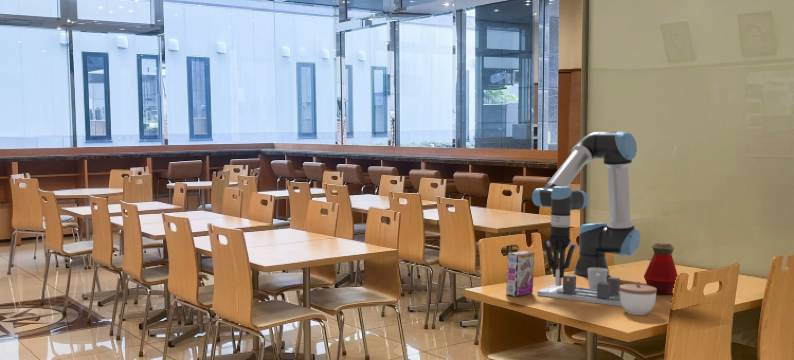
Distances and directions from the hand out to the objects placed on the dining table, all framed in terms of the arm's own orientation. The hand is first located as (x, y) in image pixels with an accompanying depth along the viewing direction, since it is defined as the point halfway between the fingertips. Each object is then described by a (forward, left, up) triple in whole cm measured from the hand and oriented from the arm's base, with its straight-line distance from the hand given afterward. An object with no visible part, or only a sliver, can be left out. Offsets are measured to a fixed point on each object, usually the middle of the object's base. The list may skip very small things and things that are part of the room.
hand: (558, 285), depth 307 cm
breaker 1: (0, +4, -1) cm, 5 cm away
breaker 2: (+6, +20, -1) cm, 21 cm away
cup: (-18, +10, -3) cm, 21 cm away
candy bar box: (+12, -11, -3) cm, 17 cm away
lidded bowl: (+16, +35, -3) cm, 39 cm away
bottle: (-27, +33, -3) cm, 43 cm away
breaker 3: (-6, +20, -1) cm, 21 cm away
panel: (0, +12, -3) cm, 12 cm away
